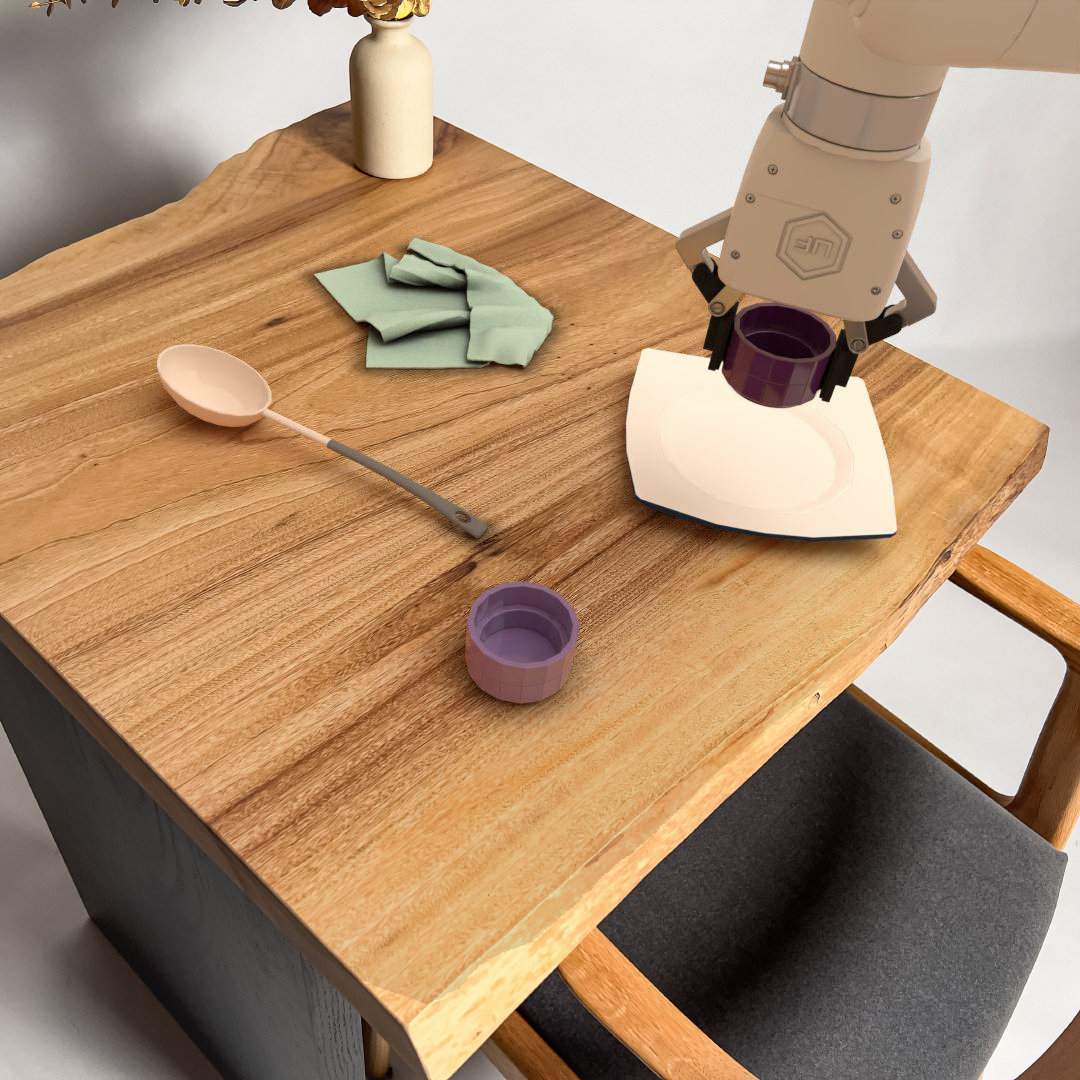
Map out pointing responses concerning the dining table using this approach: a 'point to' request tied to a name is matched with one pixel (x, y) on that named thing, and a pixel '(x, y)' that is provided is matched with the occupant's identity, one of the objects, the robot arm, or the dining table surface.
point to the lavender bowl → (520, 641)
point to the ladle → (265, 411)
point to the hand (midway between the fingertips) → (771, 372)
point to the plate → (756, 456)
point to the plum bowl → (778, 354)
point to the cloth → (439, 310)
